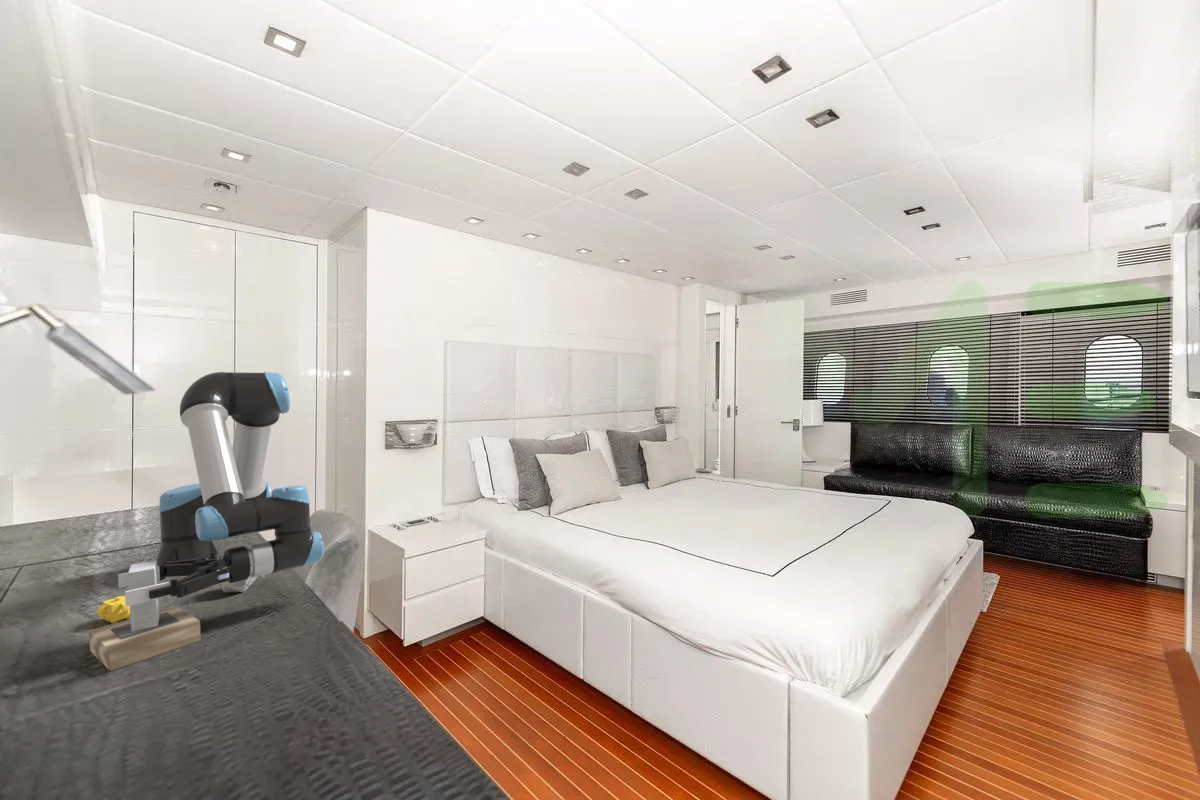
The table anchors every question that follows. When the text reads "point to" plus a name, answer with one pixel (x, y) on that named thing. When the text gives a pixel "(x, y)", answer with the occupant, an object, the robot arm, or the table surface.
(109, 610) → the teapot
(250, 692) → the table surface
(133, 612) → the skincare box
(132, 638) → the plinth
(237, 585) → the die
